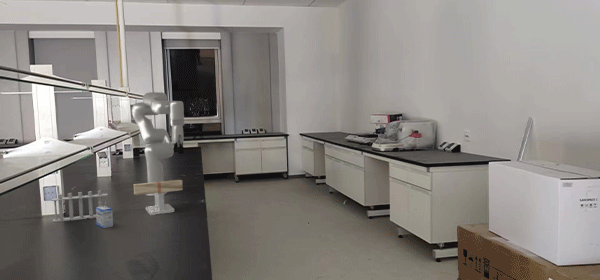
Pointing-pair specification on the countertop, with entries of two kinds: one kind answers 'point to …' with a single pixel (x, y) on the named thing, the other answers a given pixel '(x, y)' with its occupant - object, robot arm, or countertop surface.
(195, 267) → the countertop surface
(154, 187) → the pine beam
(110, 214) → the medicine box
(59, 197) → the grey picket fence
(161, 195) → the ridge stand
